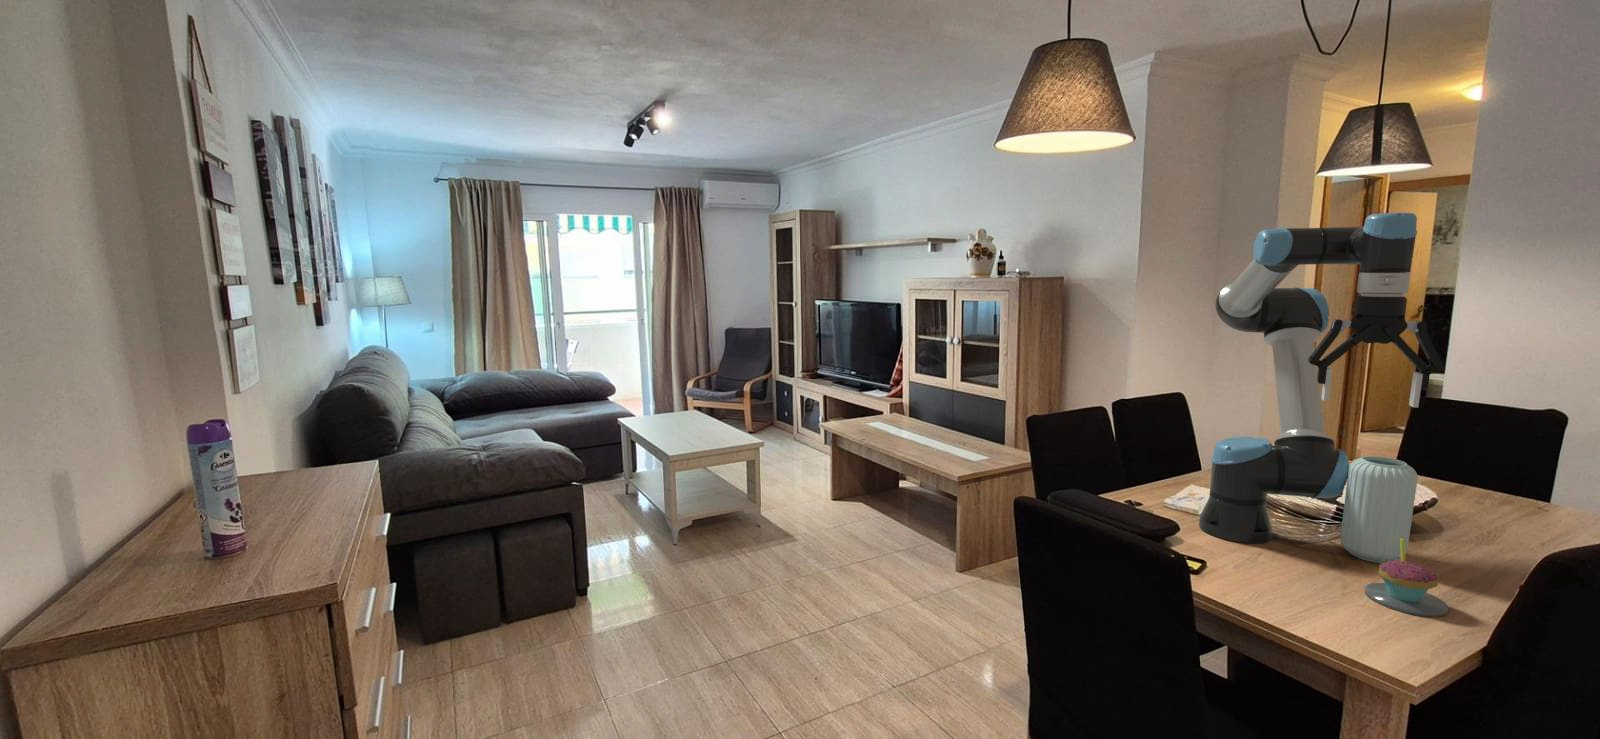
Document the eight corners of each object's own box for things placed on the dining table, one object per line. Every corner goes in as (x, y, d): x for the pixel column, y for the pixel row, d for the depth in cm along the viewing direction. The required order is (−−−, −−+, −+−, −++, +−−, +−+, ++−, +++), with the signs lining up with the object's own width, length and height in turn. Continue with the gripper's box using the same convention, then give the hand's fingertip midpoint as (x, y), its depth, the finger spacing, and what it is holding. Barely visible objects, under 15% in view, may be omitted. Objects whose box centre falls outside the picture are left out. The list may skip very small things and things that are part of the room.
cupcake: (1364, 587, 134) (1371, 531, 132) (1402, 585, 134) (1410, 529, 133) (1406, 609, 125) (1414, 548, 123) (1447, 606, 126) (1455, 546, 124)
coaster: (1372, 606, 128) (1372, 602, 128) (1359, 581, 138) (1359, 578, 138) (1457, 623, 122) (1457, 619, 122) (1436, 595, 132) (1437, 591, 132)
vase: (1406, 555, 150) (1420, 460, 147) (1404, 572, 142) (1418, 472, 138) (1341, 541, 158) (1353, 450, 154) (1335, 556, 150) (1347, 461, 146)
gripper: (1304, 295, 131) (1293, 400, 134) (1477, 296, 119) (1460, 412, 122) (1298, 293, 137) (1287, 394, 140) (1462, 295, 125) (1446, 405, 128)
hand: (1368, 403), depth 131 cm, fingers open, 13 cm apart
